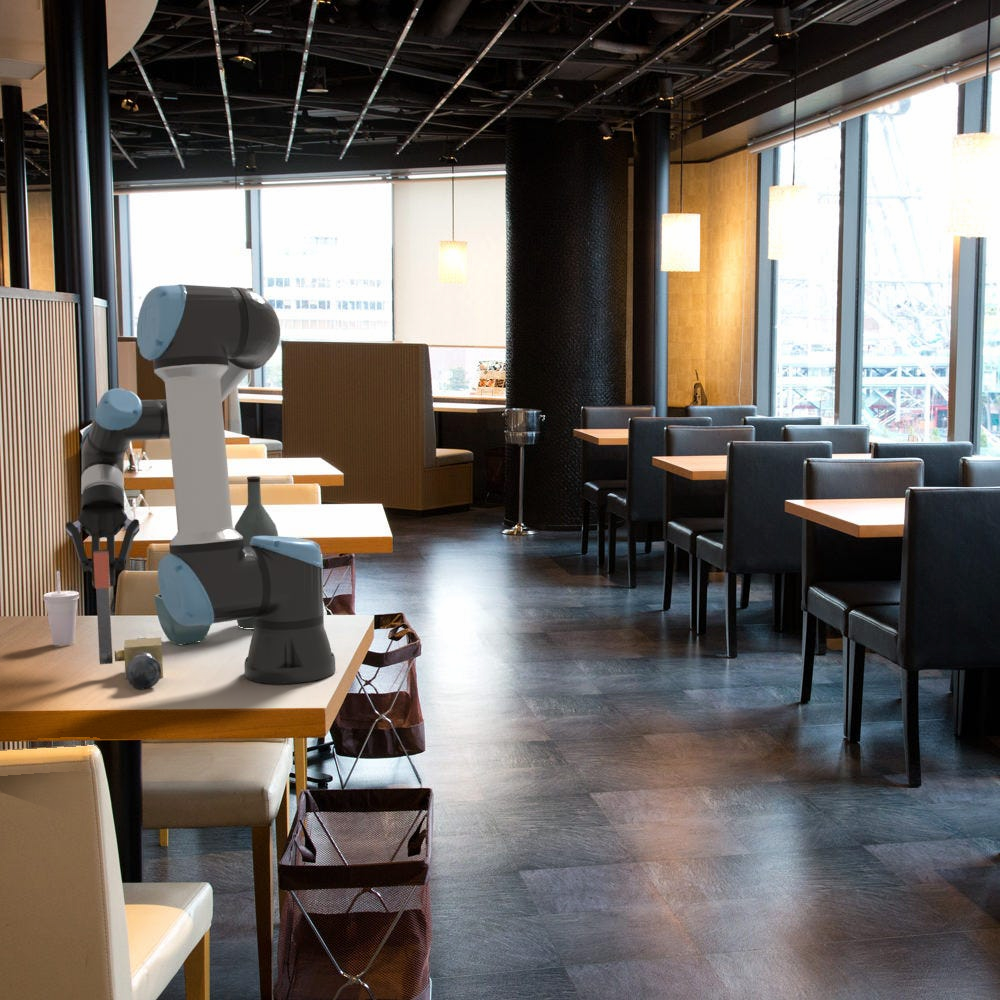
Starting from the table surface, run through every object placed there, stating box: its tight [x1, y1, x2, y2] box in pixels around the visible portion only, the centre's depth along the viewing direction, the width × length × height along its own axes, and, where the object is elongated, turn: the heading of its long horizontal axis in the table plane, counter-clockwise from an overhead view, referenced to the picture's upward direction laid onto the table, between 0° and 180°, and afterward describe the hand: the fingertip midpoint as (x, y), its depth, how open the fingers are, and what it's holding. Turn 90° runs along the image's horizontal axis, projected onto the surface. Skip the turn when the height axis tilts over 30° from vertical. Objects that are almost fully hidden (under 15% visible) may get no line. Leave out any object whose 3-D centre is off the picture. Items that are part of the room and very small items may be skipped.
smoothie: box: [42, 570, 80, 646], centre depth 225 cm, size 6×6×14 cm
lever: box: [93, 549, 114, 665], centre depth 200 cm, size 2×2×19 cm
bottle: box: [233, 475, 279, 628], centre depth 239 cm, size 9×9×30 cm
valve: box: [114, 637, 164, 690], centre depth 200 cm, size 14×8×6 cm, turn 16°
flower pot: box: [154, 593, 211, 645], centre depth 227 cm, size 9×9×9 cm
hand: (103, 600), depth 208 cm, fingers closed
